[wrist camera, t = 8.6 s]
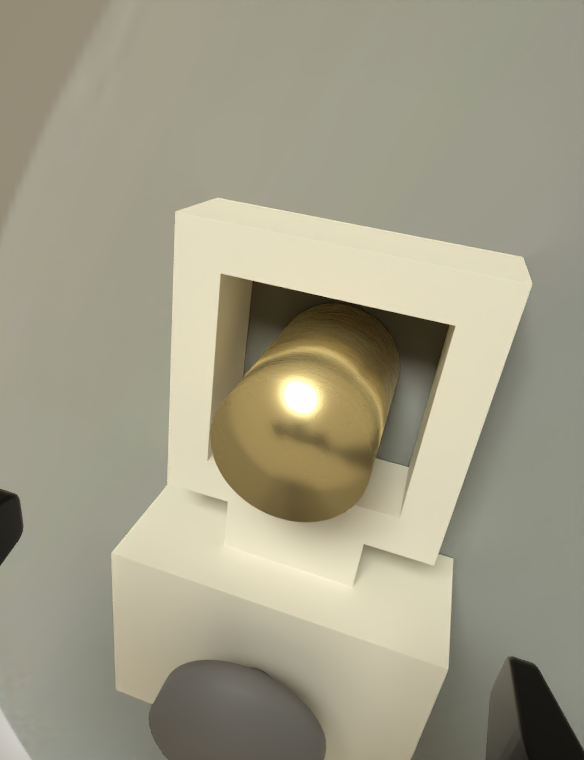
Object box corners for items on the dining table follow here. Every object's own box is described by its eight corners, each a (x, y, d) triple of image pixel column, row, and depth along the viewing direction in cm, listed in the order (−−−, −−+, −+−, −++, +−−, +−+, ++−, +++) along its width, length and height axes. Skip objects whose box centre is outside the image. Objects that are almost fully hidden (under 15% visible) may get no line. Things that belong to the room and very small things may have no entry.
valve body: (561, 264, 16) (623, 368, 9) (407, 683, 25) (384, 882, 19) (187, 191, 18) (28, 234, 12) (171, 599, 28) (77, 750, 21)
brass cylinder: (385, 429, 20) (355, 541, 15) (272, 400, 21) (206, 496, 16) (412, 318, 18) (387, 403, 13) (285, 291, 19) (214, 360, 14)
